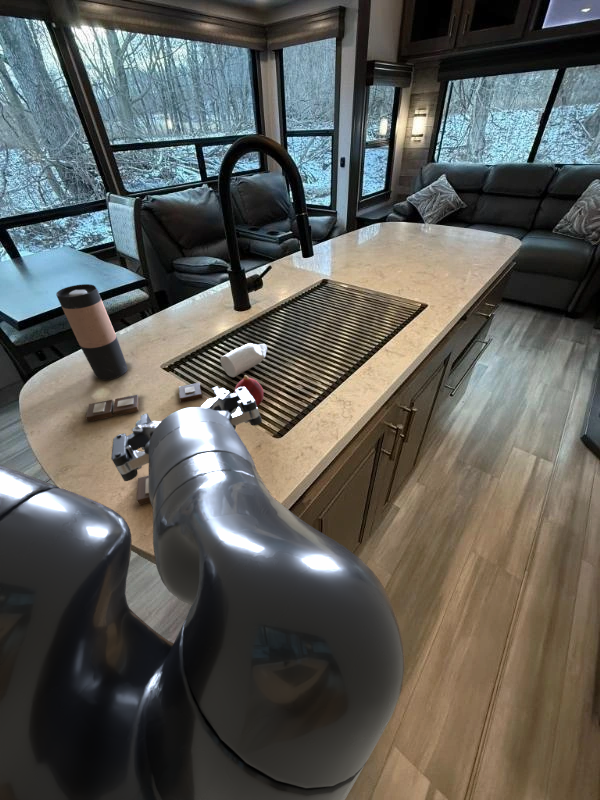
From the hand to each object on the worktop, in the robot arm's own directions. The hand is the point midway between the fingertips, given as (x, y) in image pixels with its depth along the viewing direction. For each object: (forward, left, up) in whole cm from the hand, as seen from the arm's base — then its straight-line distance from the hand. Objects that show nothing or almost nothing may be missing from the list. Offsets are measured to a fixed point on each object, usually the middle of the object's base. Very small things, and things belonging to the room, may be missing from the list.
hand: (183, 407), depth 40 cm
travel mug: (-18, +45, -19) cm, 52 cm away
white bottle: (+14, +36, -19) cm, 43 cm away
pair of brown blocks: (-3, +5, -19) cm, 19 cm away
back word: (-10, +29, -19) cm, 36 cm away
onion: (+11, +20, -19) cm, 29 cm away
